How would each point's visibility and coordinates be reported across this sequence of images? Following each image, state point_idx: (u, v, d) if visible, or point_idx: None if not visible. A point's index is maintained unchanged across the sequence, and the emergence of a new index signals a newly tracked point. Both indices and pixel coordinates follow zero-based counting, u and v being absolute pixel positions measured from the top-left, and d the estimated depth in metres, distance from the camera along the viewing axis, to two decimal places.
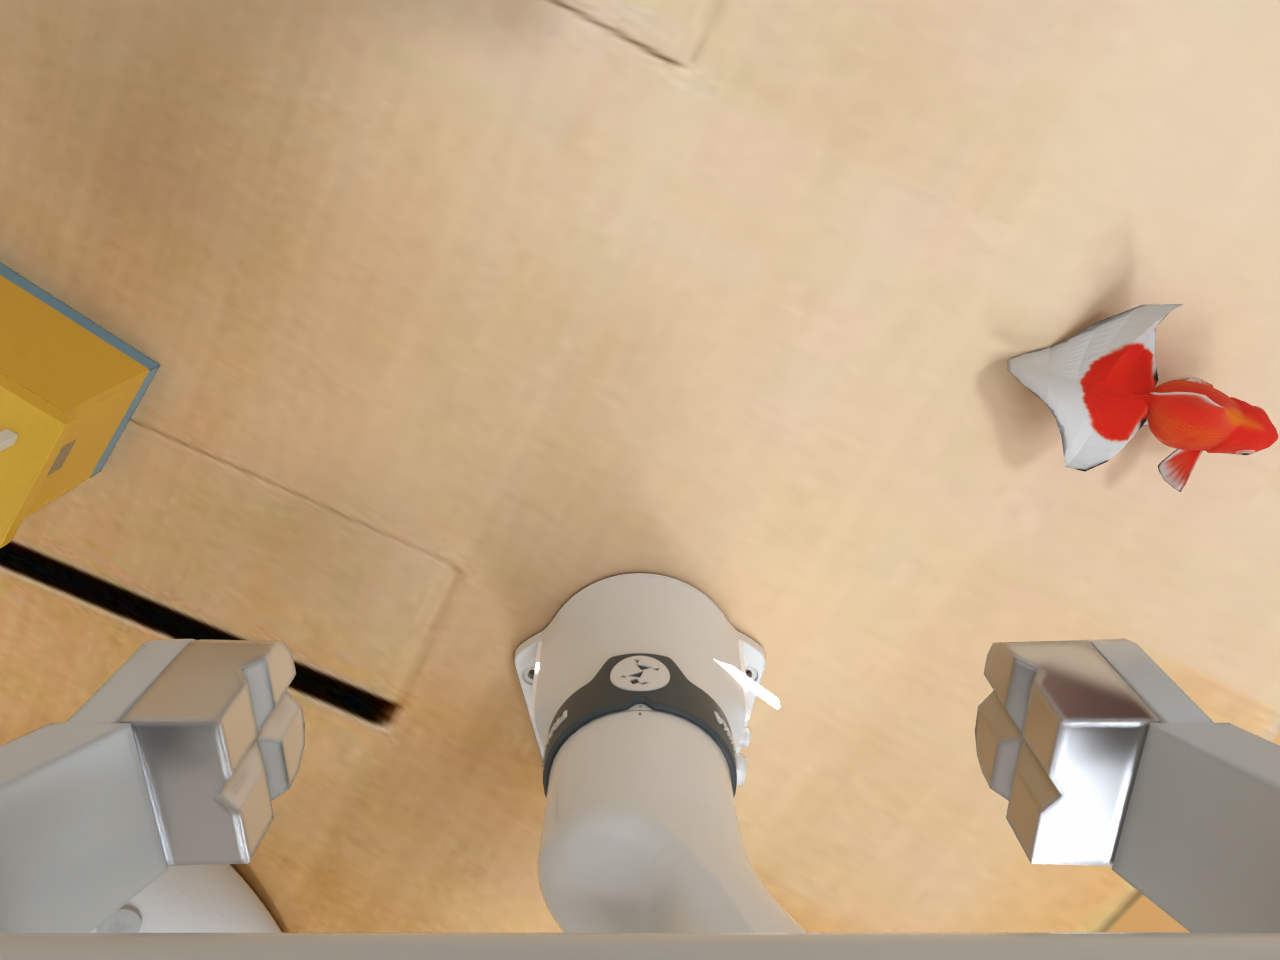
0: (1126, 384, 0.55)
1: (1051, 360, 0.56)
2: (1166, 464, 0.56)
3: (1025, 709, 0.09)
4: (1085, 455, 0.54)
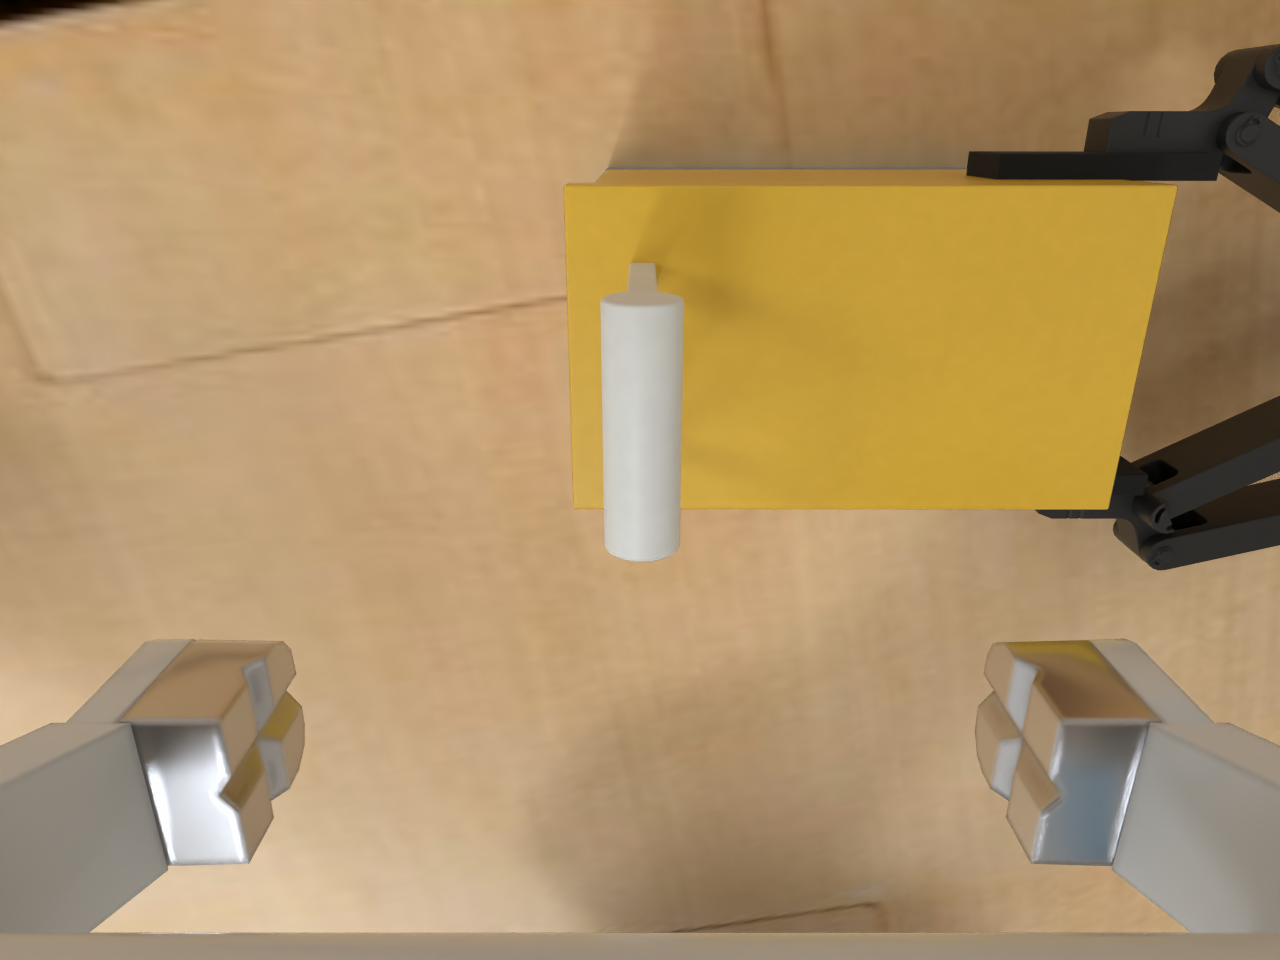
0: None
1: None
2: None
3: (1025, 709, 0.09)
4: None
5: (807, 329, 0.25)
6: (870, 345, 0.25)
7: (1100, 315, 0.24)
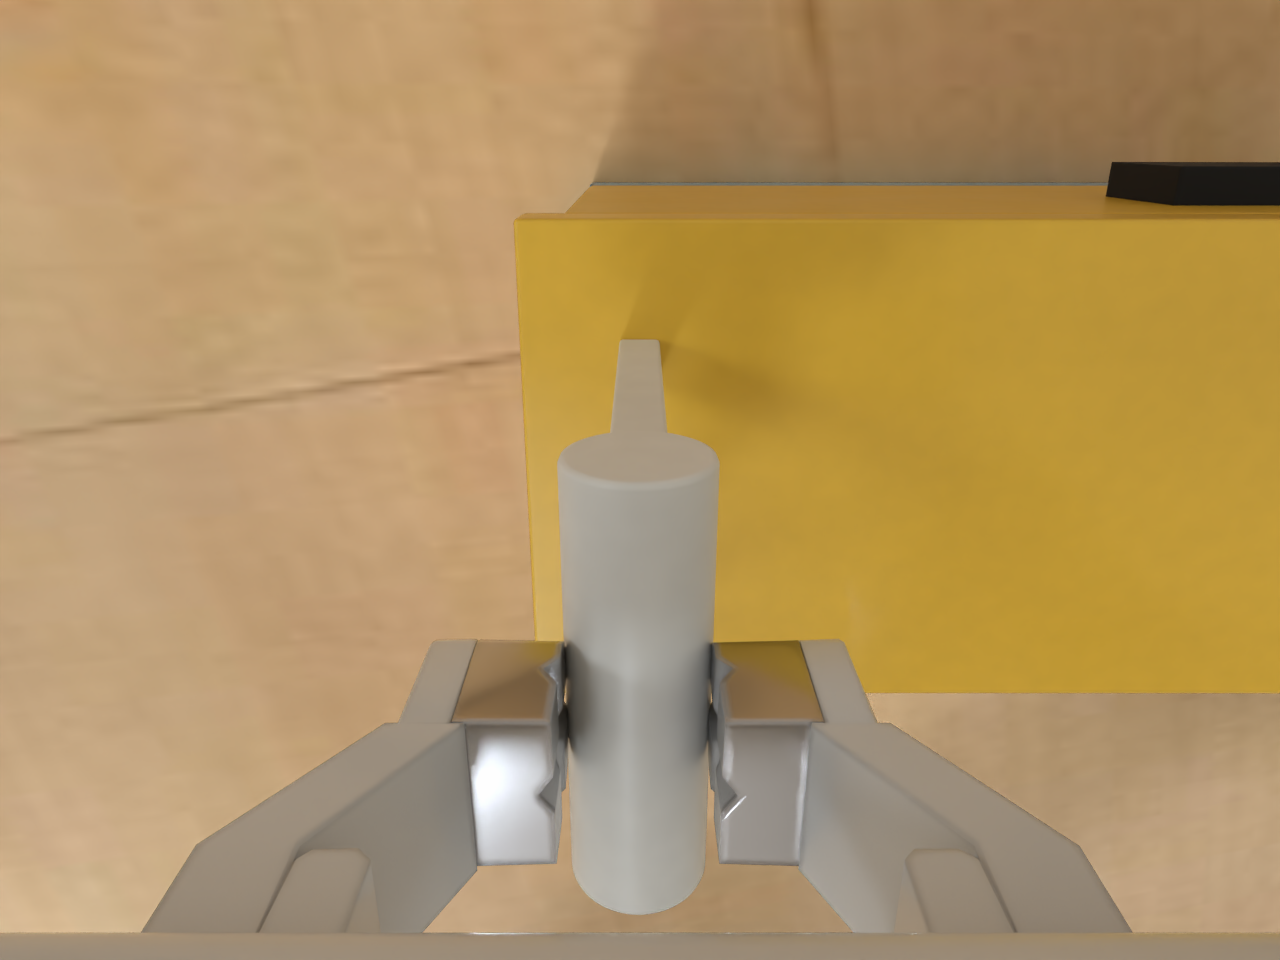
0: None
1: None
2: None
3: None
4: None
5: (894, 438, 0.16)
6: (990, 462, 0.16)
7: None
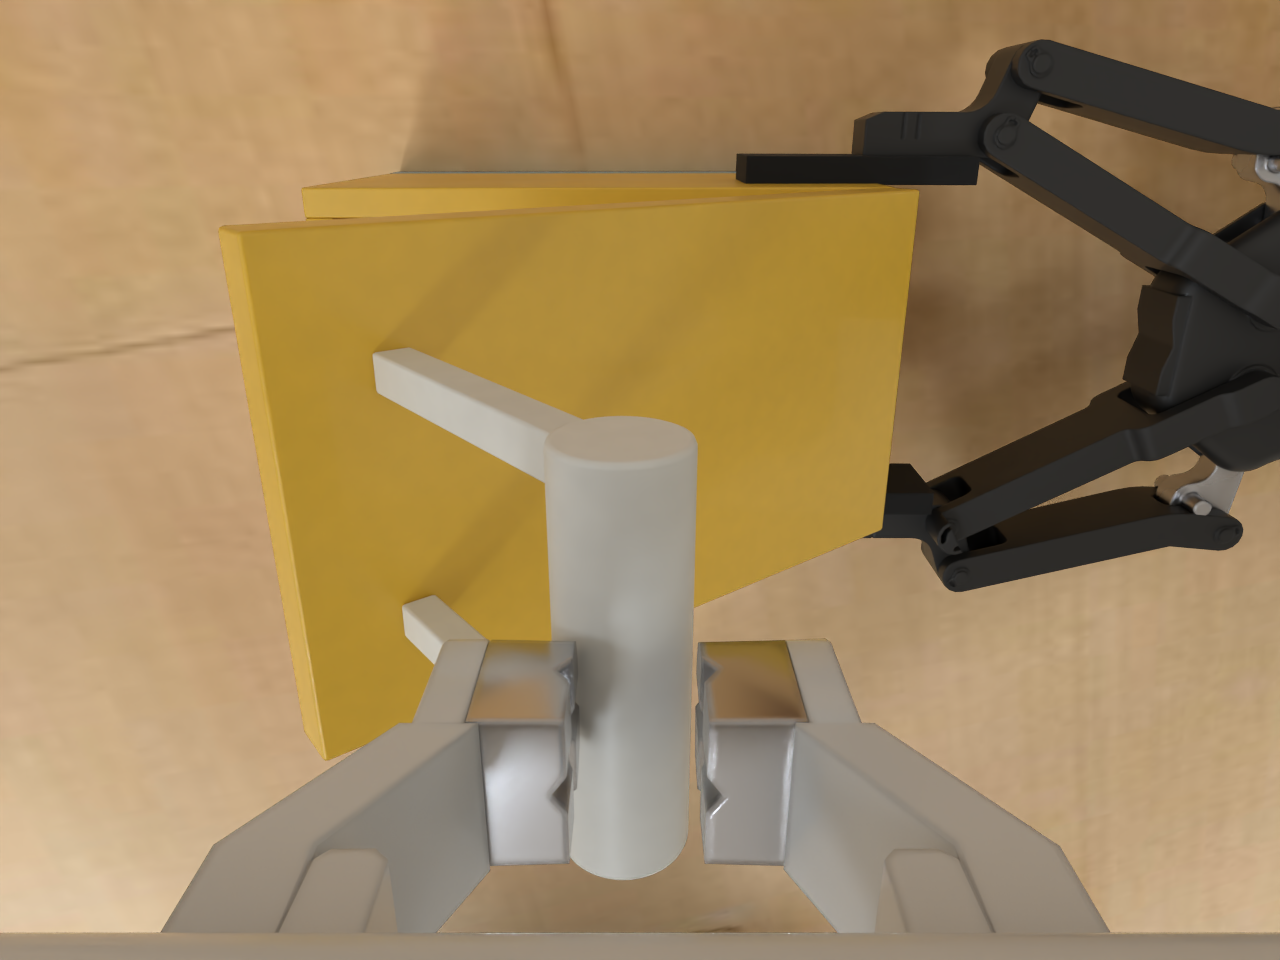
0: None
1: None
2: None
3: None
4: None
5: (616, 405, 0.18)
6: (684, 410, 0.19)
7: (872, 333, 0.22)
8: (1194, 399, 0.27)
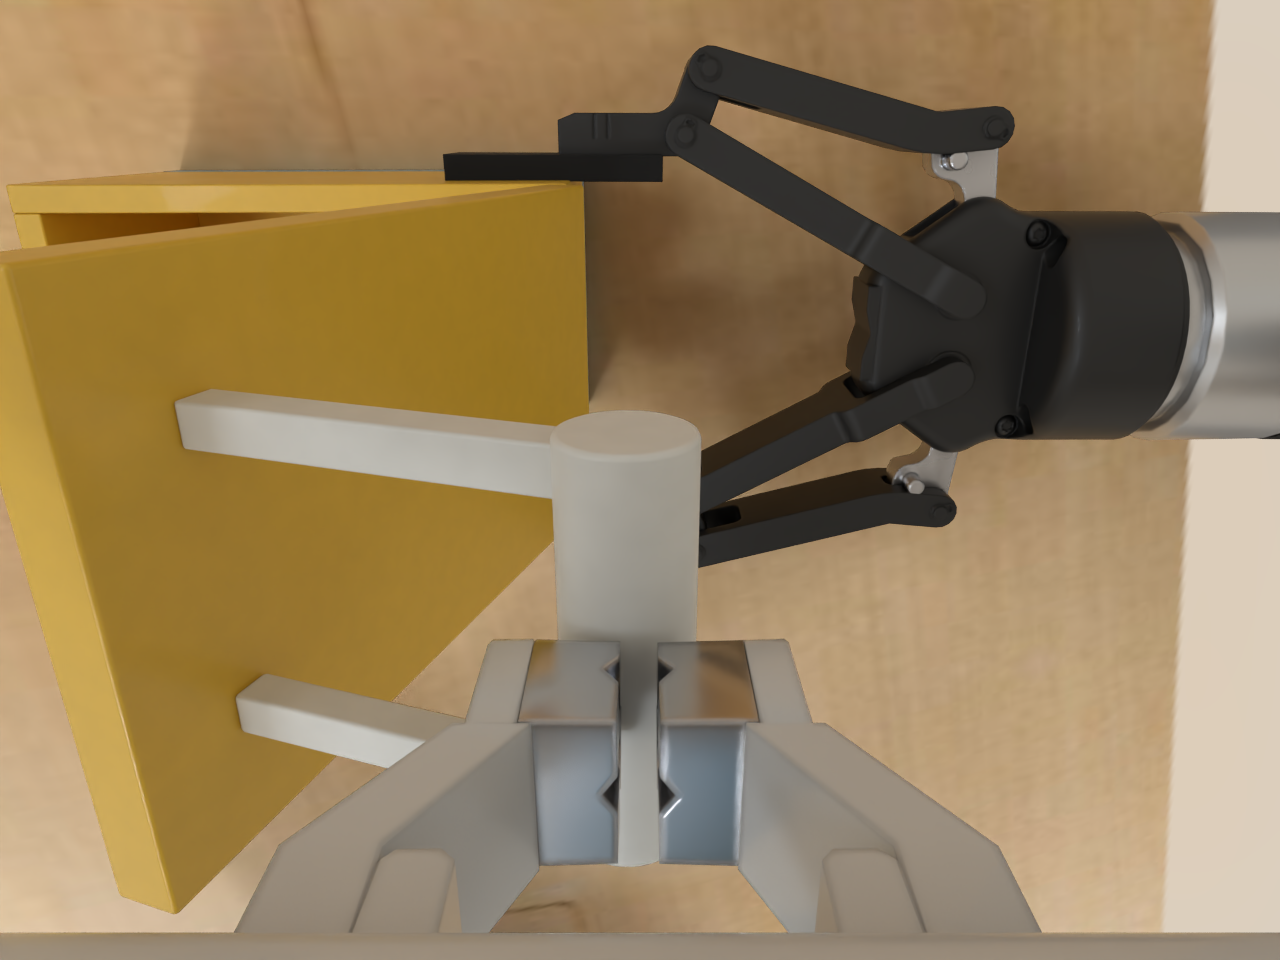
0: None
1: None
2: None
3: None
4: None
5: None
6: None
7: (568, 321, 0.24)
8: (894, 383, 0.29)
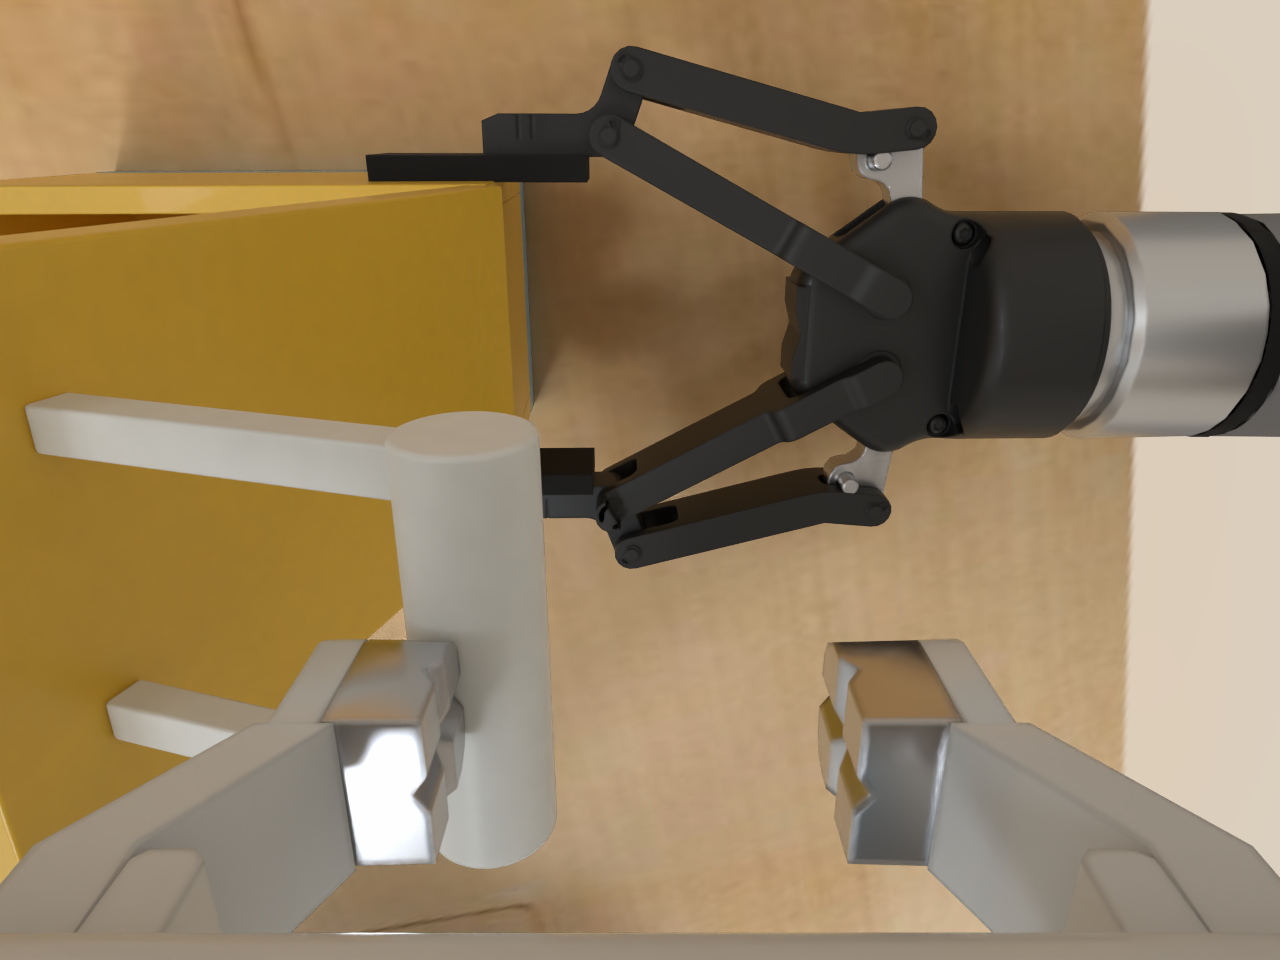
0: None
1: None
2: None
3: None
4: None
5: None
6: (351, 421, 0.18)
7: (487, 322, 0.24)
8: (825, 383, 0.29)
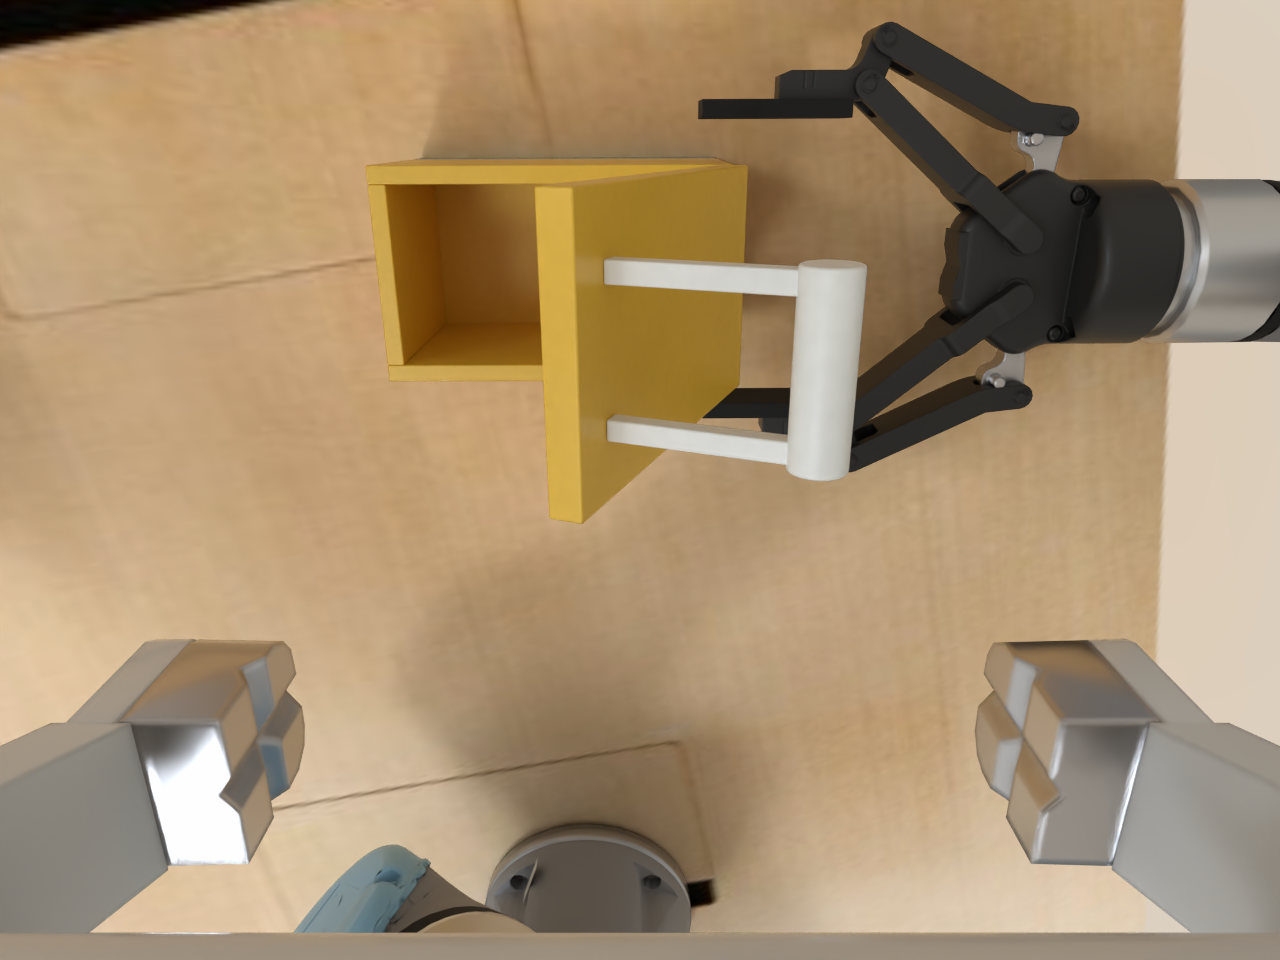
0: None
1: None
2: None
3: (1025, 709, 0.09)
4: None
5: (665, 296, 0.29)
6: (683, 301, 0.31)
7: (735, 254, 0.36)
8: (978, 309, 0.41)
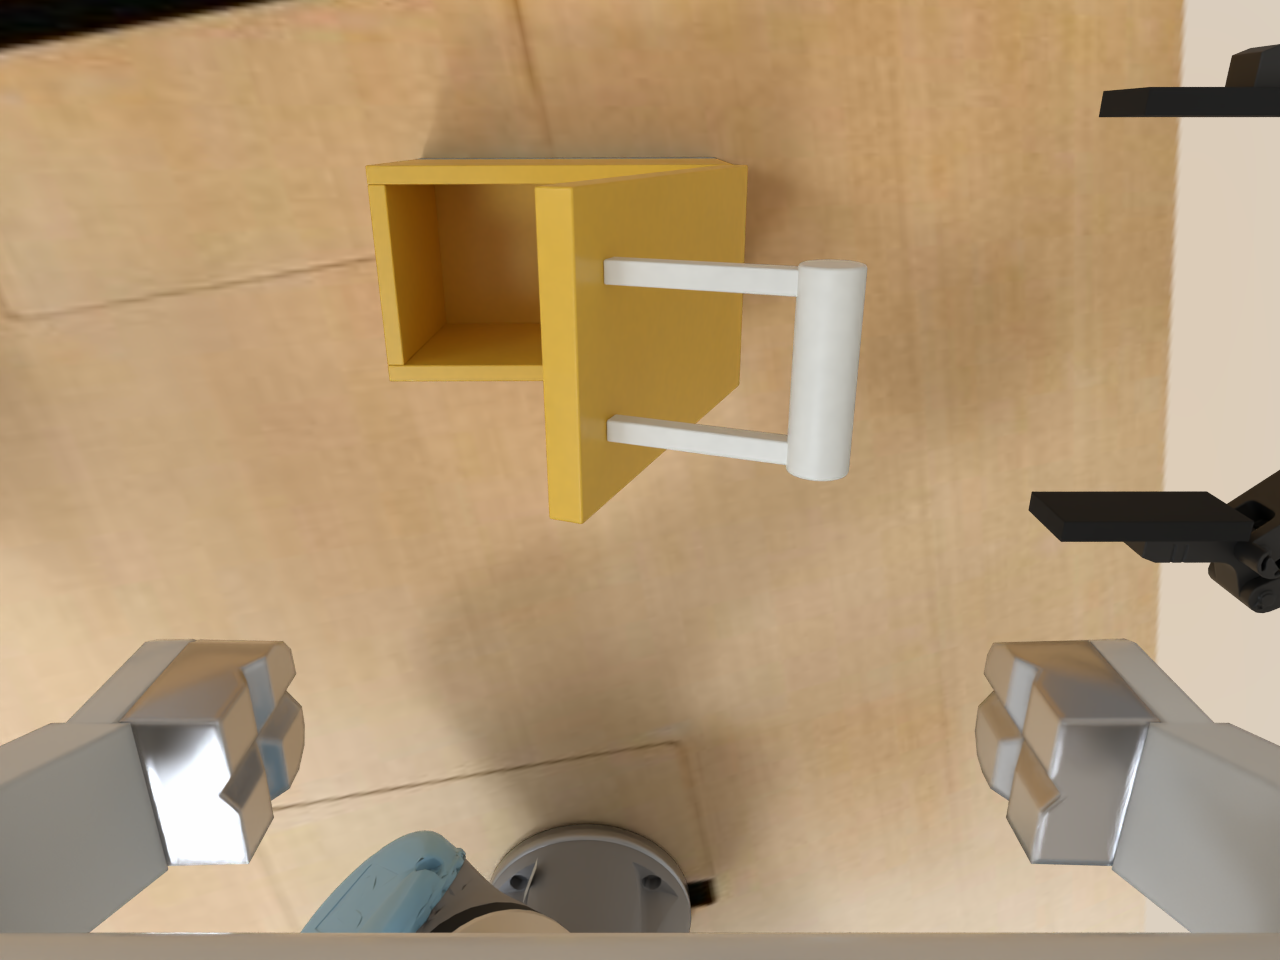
0: None
1: None
2: None
3: (1025, 709, 0.09)
4: None
5: (665, 296, 0.29)
6: (683, 301, 0.31)
7: (735, 254, 0.36)
8: None
